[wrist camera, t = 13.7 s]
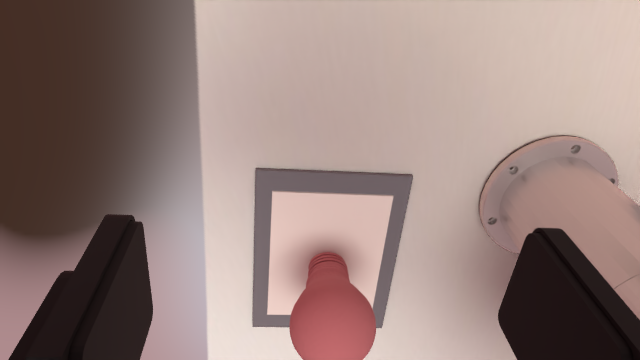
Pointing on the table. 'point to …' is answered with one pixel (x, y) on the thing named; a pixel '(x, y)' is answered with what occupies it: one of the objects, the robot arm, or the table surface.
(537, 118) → the table surface
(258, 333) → the table surface
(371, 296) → the gray rectangular picture frame
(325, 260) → the light bulb
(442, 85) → the table surface
